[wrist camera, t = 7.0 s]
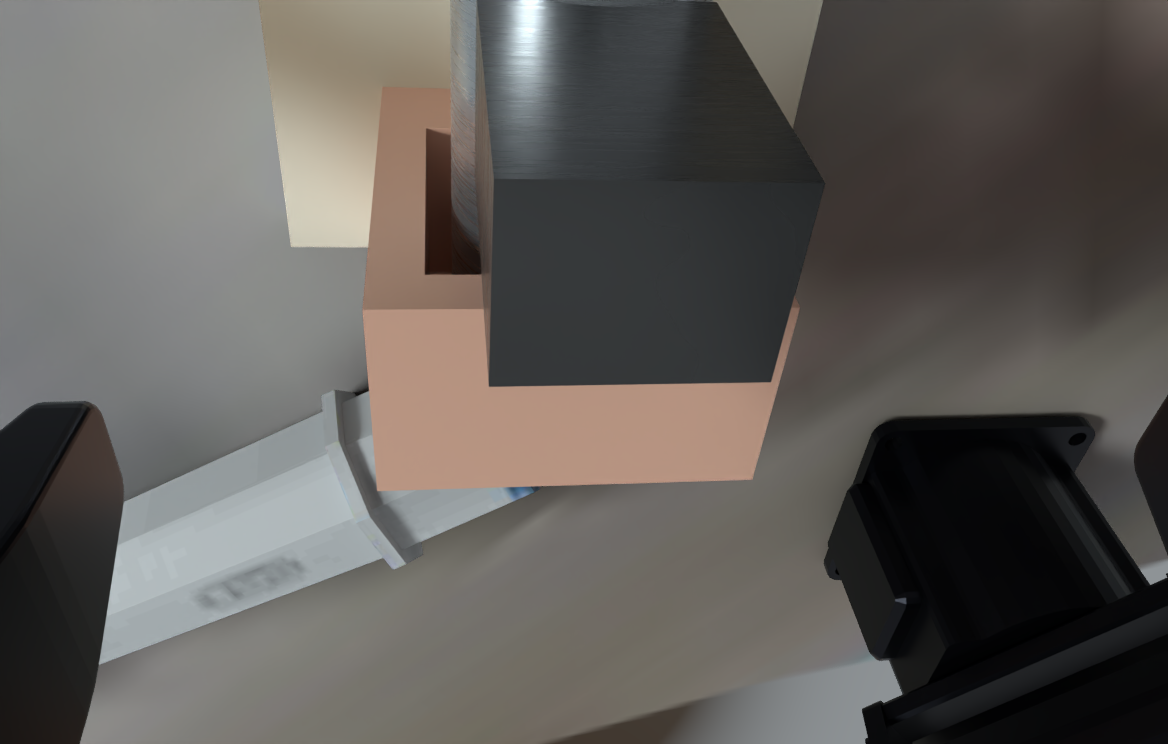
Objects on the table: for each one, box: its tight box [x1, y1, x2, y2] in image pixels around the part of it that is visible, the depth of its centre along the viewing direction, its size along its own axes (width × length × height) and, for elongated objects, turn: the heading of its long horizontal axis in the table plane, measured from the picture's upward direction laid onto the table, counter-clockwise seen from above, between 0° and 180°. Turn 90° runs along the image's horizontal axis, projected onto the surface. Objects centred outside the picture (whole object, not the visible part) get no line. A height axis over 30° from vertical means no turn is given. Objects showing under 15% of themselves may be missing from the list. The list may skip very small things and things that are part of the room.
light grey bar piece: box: [99, 390, 541, 664], centre depth 25 cm, size 5×7×25 cm
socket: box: [363, 87, 800, 491], centre depth 17 cm, size 4×6×7 cm, turn 85°
